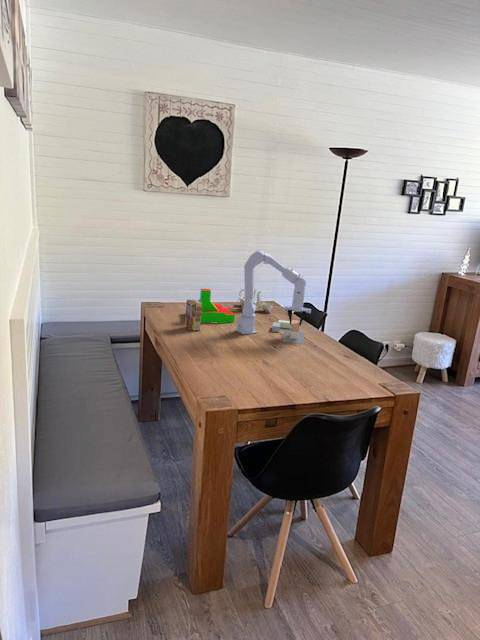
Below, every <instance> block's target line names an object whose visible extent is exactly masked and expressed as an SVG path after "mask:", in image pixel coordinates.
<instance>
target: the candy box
mask: <svg viewBox="0 0 480 640" xmlns="http://www.w3.org/2000/svg"><path fill="white" fill-rule="evenodd" d="M201 310H202V303H201V302H198V300H196V299H193V298H192V299H191V298H190V299H186V307H185V322H184V325H185V326H186V327H188V328H190V329H192V330H194V331H193V332H196V331H195V330H200V331H201V324H202V323H201ZM185 326H184V327H185ZM186 327H185V328H186ZM188 328H187V329H188ZM190 329H189V330H190ZM192 330H191V331H192Z"/></svg>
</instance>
